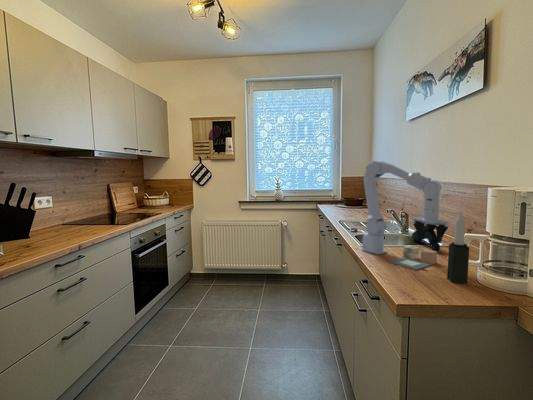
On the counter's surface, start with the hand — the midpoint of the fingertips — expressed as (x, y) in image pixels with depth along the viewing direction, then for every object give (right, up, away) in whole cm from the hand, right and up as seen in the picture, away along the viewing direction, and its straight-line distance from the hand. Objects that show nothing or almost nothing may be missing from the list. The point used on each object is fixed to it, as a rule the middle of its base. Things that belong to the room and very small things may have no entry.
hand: (429, 240), depth 121 cm
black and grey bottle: (-2, -12, -20) cm, 23 cm away
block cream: (-4, -9, +8) cm, 12 cm away
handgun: (+13, -7, +27) cm, 31 cm away
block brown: (0, -10, +1) cm, 10 cm away
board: (-9, -10, -1) cm, 13 cm away
